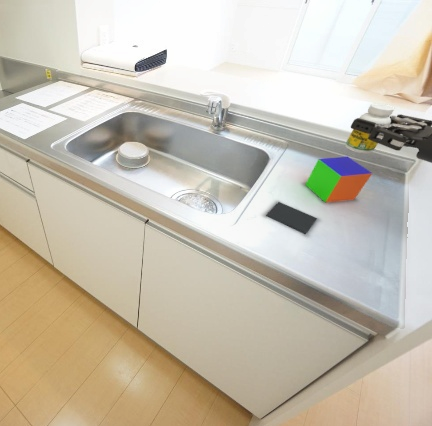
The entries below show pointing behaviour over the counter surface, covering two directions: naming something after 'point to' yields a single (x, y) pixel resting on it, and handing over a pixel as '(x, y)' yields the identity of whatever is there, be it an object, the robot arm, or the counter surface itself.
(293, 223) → the mat
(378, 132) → the robot arm
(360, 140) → the supplement bottle
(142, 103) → the counter surface
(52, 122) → the counter surface
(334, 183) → the cube
